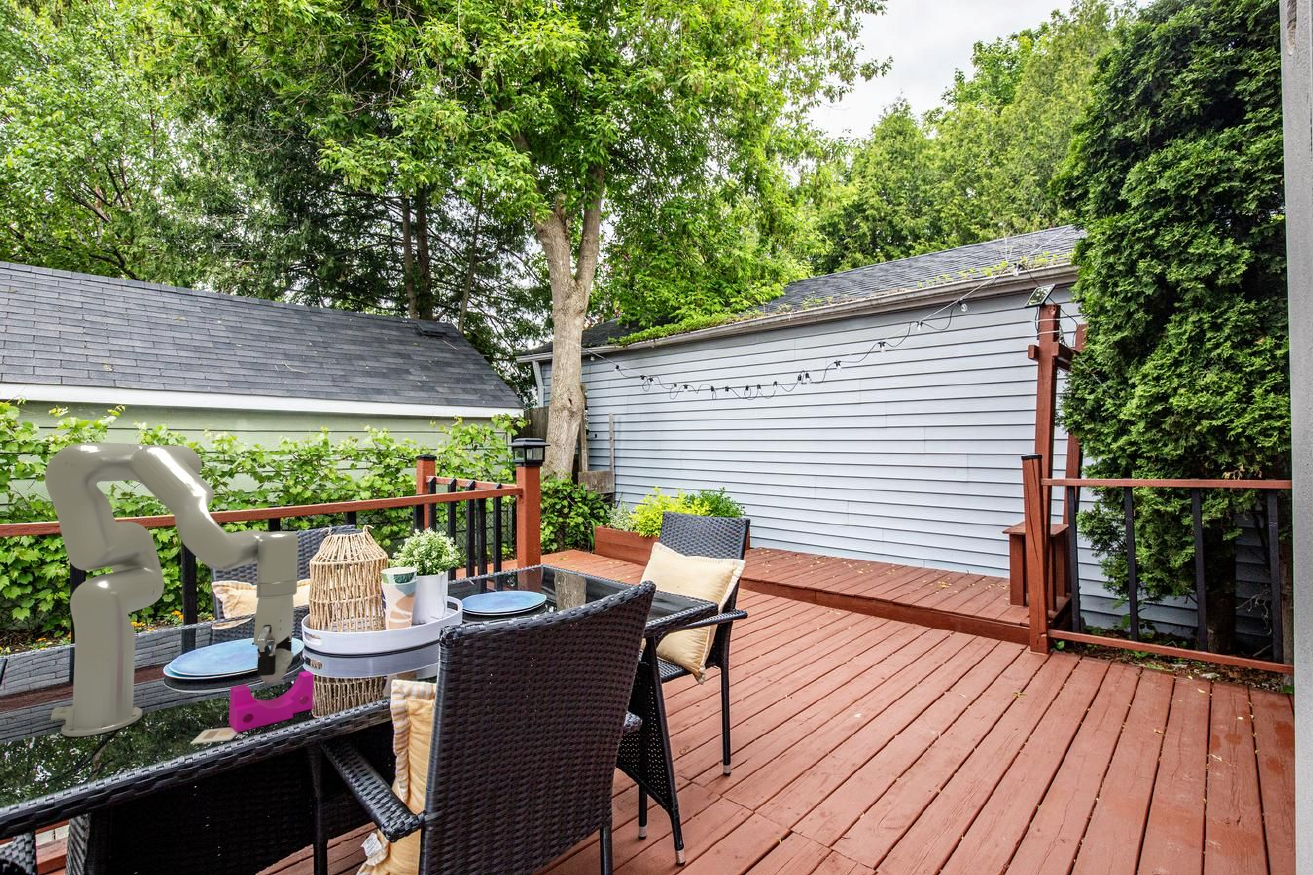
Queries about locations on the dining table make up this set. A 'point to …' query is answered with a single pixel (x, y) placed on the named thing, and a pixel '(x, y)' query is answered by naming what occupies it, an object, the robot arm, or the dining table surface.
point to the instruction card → (215, 735)
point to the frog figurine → (279, 665)
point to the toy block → (269, 704)
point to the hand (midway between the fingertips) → (274, 667)
